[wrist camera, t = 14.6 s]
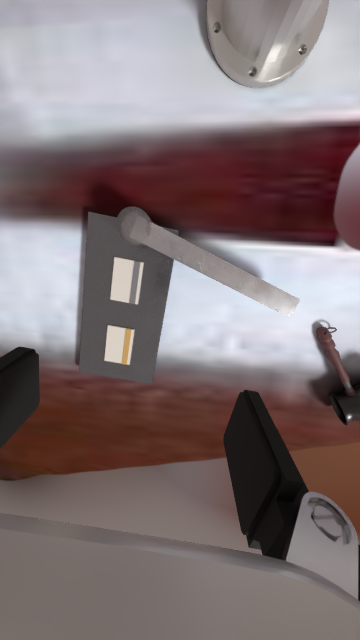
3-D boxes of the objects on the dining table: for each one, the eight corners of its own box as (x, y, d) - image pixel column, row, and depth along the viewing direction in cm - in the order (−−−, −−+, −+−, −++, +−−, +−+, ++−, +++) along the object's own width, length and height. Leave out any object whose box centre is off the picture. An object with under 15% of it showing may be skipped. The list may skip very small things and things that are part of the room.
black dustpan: (385, 403, 37) (332, 413, 39) (360, 308, 34) (304, 324, 36) (425, 435, 29) (357, 445, 32) (397, 317, 27) (325, 337, 29)
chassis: (92, 213, 28) (88, 211, 27) (178, 231, 29) (178, 230, 28) (82, 368, 35) (78, 371, 34) (152, 379, 36) (151, 384, 35)
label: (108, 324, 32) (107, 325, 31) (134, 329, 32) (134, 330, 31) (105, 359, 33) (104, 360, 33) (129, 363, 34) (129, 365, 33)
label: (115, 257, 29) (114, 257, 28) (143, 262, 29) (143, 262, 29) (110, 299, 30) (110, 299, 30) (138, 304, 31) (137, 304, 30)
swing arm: (120, 237, 28) (110, 234, 24) (131, 207, 27) (123, 199, 23) (272, 314, 31) (285, 322, 27) (288, 289, 30) (304, 294, 26)
